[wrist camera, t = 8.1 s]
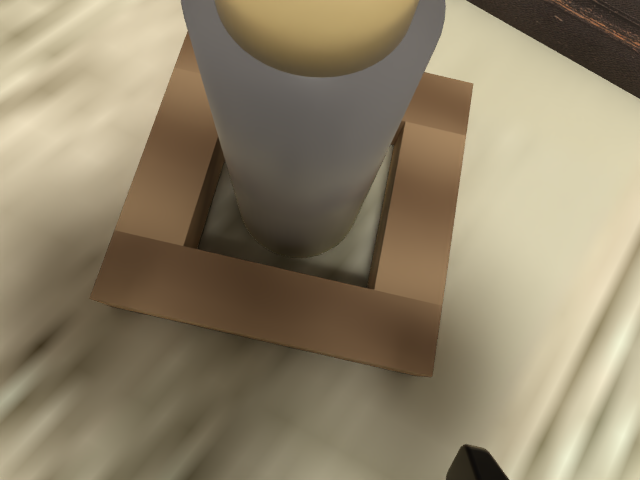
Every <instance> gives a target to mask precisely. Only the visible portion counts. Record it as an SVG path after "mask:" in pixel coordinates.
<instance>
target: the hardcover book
mask: <svg viewBox="0 0 640 480" xmlns="http://www.w3.org/2000/svg"><path fill="white" fill-rule="evenodd" d="M467 1H468V2H470V3H472V4H474V5H476V6H477V7H479V8H481V9H483V10H484V11H486V12H488V13H490V14H491V15H493V16H495V17H497V18H498V19H500V20H502V21H504V22H505V23H507V24H509V25H511V26H513V27H514V28H516V29H518V30H520V31H521V32H523V33H525V34H527V35H528V36H530V37H532V38H534V39H535V40H537V41H539V42H541V43H543V44H544V45H546V46H548V47H550V48H551V49H553V50H555V51H557V52H558V53H560V54H562V55H564V56H565V57H567V58H569V59H571V60H573V61H574V62H576V63H578V64H580V65H581V66H583V67H585V68H587V69H588V70H590V71H592V72H594V73H595V74H597V75H599V76H601V77H602V78H604V79H606V80H608V81H610V82H611V83H613V84H615V85H617V86H618V87H620V88H622V89H624V90H625V91H627V92H629V93H631V94H632V95H634V96H636V97H638V98H640V0H467Z"/></svg>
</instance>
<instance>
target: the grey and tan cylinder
mask: <svg viewBox="0 0 640 480" xmlns="http://www.w3.org/2000/svg"><path fill="white" fill-rule="evenodd" d="M181 5H182V10H183V14H184V19H185V22H186V26H187V29H188V33H189V36H190V40H191V43H192V47H193V50H194V54H195V57H196V61H197V64H198V68H199V71H200V75H201V78H202V81H203V85H204V88H205V92H206V95H207V99H208V102H209V106H210V109H211V113H212V116H213V120H214V123H215V127H216V130H217V134H218V137H219V141H220V144H221V148H222V151H223V155H224V158H225V162H226V165H227V169H228V172H229V176H230V179H231V183H232V186H233V190H234V193H235V197H236V200H237V203H238V207H239V210H240V214H241V217H242V220H243V223H244V225H245V227H246V228H247V230H248V232H249V233H250V234H251V236H252V237H253V238H254V239H255V240H256V241H257V242H258V243H259V244H261V245H262V246H263V247H265V248H266V249H268V250H270V251H271V252H274V253H276V254H279V255H282V256H285V257H292V258H307V257H313V256H317V255H320V254H322V253H325V252H327V251H329V250H331V249H332V248H334V247H335V246H337V245H338V244H339V243H340V242H341V241H342V240H343V239H344V238H345V237H346V236H347V234H348V233H349V231H350V230H351V228H352V226H353V224H354V222H355V220H356V218H357V215H358V213H359V211H360V209H361V207H362V205H363V203H364V200H365V198H366V196H367V194H368V192H369V190H370V187H371V185H372V183H373V181H374V179H375V177H376V175H377V172H378V170H379V168H380V166H381V164H382V162H383V159H384V157H385V155H386V153H387V151H388V149H389V147H390V144H391V142H392V140H393V138H394V136H395V134H396V131H397V129H398V127H399V125H400V123H401V121H402V118H403V116H404V114H405V112H406V110H407V108H408V106H409V103H410V101H411V99H412V97H413V95H414V93H415V90H416V88H417V86H418V84H419V82H420V80H421V78H422V75H423V73H424V71H425V69H426V67H427V65H428V62H429V60H430V58H431V56H432V54H433V52H434V50H435V47H436V45H437V43H438V40H439V38H440V36H441V33H442V29H443V24H444V20H445V7H446V6H445V0H181Z"/></svg>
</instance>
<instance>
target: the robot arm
mask: <svg viewBox="0 0 640 480" xmlns="http://www.w3.org/2000/svg"><path fill="white" fill-rule="evenodd" d="M446 480H509V479H508V477H507V476H506V475H505V473H504V472H503V470H502V469H501V468H500V466H499V465H498V464H497V462H496V461H495V459H494V458H493V457H492V455H491V454H490V453H489V452H488V451H487V450H486V449H484V448H481V447H477V446H472V445H468V444H465V445H463V446H461V448H460V449H459V451H458V453H457V455H456V457H455V459H454V461H453V463H452V464H451V466H450V468H449V470H448V472H447V476H446Z"/></svg>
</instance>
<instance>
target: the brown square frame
mask: <svg viewBox="0 0 640 480" xmlns="http://www.w3.org/2000/svg"><path fill="white" fill-rule="evenodd" d="M472 89H473V83H468V82H464V81H460V80H456V79H451V78H447V77H443V76H438V75H434V74H430V73H426V72H424V73H423V75H422V78H421V80H420V82H419V84H418V86H417V88H416V90H415V93H414V95H413V97H412V99H411V101H410V103H409V106H408V108H407V110H406V112H405V114H404V116H403V118H402V121H401V123H400V125H399V127H398V129H397V131H396V134H395V136H394V138H393V140H392V142H391V145H394V148H393V154H392V159H391V164H390V169H389V175H388V180H387V185H386V190H385V196H384V201H383V206H382V211H381V217H380V222H379V227H378V232H377V238H376V243H375V248H374V253H373V259H372V264H371V269H370V274H369V280H368V285H367V288H364V287H359V286H355V285H351V284H346V283H342V282H338V281H333V280H329V279H324V278H320V277H316V276H311V275H307V274H303V273H298V272H294V271H290V270H285V269H281V268H277V267H272V266H268V265H264V264H259V263H255V262H251V261H246V260H242V259H238V258H233V257H229V256H225V255H220V254H216V253H212V252H207V251H203V250H198V249H197V248H198V245H199V241H200V238H201V235H202V232H203V228H204V225H205V222H206V219H207V215H208V212H209V209H210V206H211V202H212V199H213V196H214V193H215V189H216V186H217V183H218V180H219V176H220V173H221V170H222V167H223V164H224V160H225V158H224V155H223V151H222V148H221V144H220V141H219V137H218V134H217V130H216V127H215V123H214V120H213V116H212V113H211V109H210V106H209V102H208V99H207V95H206V92H205V88H204V85H203V81H202V78H201V75H200V71H199V68H198V64H197V61H196V57H195V54H194V50H193V47H192V43H191V40H190V36H189V33H188V32H187V35H186V37H185V40H184V43H183V45H182V48H181V51H180V54H179V56H178V59H177V62H176V64H175V67H174V70H173V73H172V75H171V78H170V81H169V83H168V86H167V89H166V92H165V94H164V97H163V100H162V102H161V105H160V108H159V111H158V113H157V116H156V119H155V121H154V124H153V127H152V130H151V132H150V135H149V138H148V140H147V143H146V146H145V149H144V151H143V154H142V157H141V159H140V162H139V165H138V168H137V170H136V173H135V176H134V179H133V181H132V184H131V187H130V189H129V192H128V195H127V198H126V200H125V203H124V206H123V208H122V211H121V214H120V217H119V219H118V222H117V225H116V227H115V230H114V233H113V236H112V238H111V241H110V244H109V246H108V249H107V252H106V255H105V257H104V260H103V263H102V265H101V268H100V271H99V274H98V276H97V279H96V282H95V284H94V287H93V290H92V293H91V295H90V299H92V300H95V301H98V302H101V303H103V304H106V305H109V306H112V307H116V308H121V309H125V310H129V311H134V312H138V313H142V314H147V315H151V316H156V317H160V318H164V319H169V320H173V321H177V322H182V323H186V324H191V325H195V326H199V327H204V328H208V329H212V330H217V331H221V332H226V333H230V334H234V335H239V336H243V337H247V338H252V339H256V340H261V341H265V342H269V343H274V344H278V345H282V346H287V347H291V348H296V349H300V350H304V351H309V352H313V353H317V354H322V355H326V356H331V357H335V358H339V359H344V360H348V361H352V362H357V363H361V364H366V365H370V366H374V367H379V368H383V369H387V370H392V371H396V372H401V373H405V374H409V375H414V376H426V377H432V375H433V368H434V360H435V353H436V346H437V339H438V332H439V325H440V318H441V311H442V303H443V296H444V289H445V282H446V275H447V268H448V261H449V253H450V246H451V239H452V232H453V225H454V218H455V211H456V203H457V196H458V189H459V182H460V175H461V168H462V161H463V154H464V146H465V139H466V132H467V125H468V118H469V111H470V104H471V96H472Z"/></svg>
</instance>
